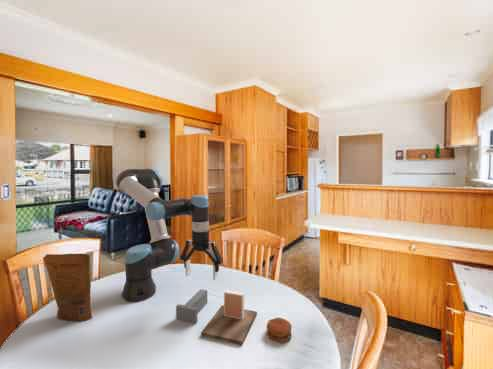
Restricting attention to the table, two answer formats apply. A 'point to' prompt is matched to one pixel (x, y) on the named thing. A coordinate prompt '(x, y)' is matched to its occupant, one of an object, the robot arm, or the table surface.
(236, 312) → the tile
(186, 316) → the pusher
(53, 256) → the pancake mix bag
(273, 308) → the table surface
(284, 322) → the burger
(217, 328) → the walnut board
